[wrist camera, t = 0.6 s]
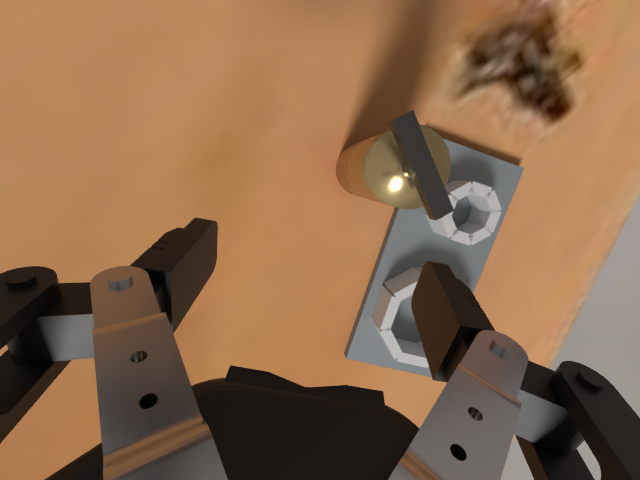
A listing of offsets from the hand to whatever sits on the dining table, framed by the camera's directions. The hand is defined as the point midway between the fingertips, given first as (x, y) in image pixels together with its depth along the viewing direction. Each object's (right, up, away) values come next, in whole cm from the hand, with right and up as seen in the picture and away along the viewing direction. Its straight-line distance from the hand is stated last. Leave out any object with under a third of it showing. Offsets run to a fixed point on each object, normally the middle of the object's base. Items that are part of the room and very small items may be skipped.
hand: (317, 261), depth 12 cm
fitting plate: (+11, -2, +21) cm, 24 cm away
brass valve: (+4, +8, +19) cm, 20 cm away
